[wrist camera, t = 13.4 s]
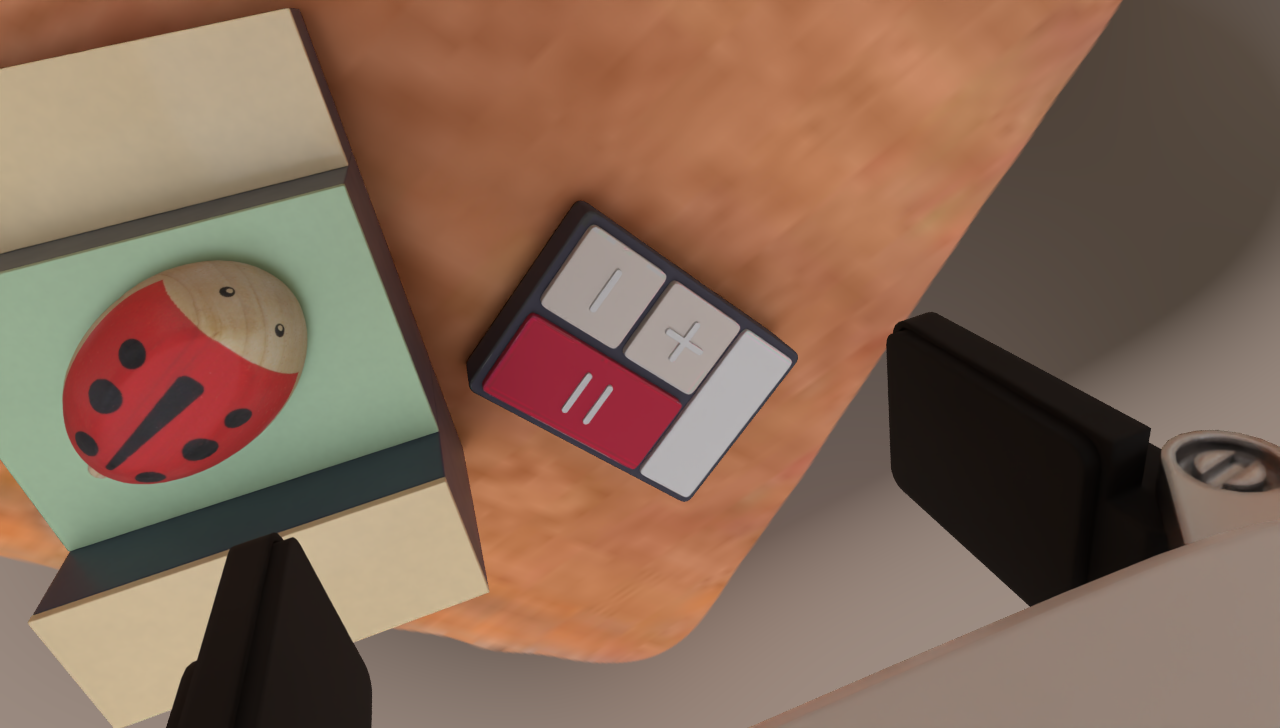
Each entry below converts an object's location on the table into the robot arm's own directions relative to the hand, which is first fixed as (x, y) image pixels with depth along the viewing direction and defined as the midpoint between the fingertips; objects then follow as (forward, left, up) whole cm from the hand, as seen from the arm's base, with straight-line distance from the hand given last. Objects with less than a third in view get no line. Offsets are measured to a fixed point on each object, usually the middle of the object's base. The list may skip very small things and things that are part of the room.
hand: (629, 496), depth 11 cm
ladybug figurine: (+3, -12, -20) cm, 24 cm away
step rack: (+4, -12, -28) cm, 31 cm away
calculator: (+12, +6, -28) cm, 32 cm away
